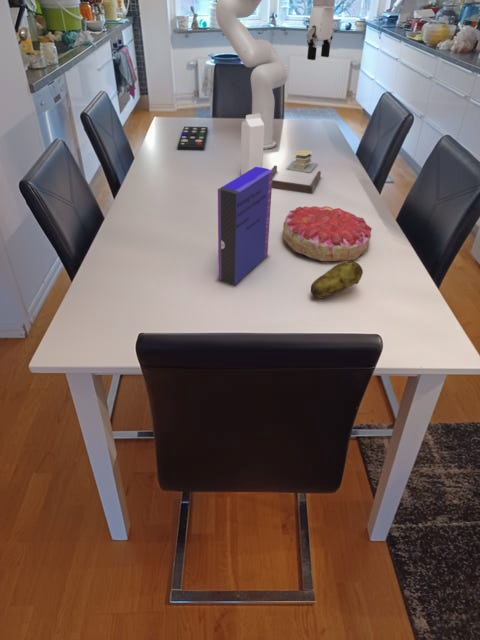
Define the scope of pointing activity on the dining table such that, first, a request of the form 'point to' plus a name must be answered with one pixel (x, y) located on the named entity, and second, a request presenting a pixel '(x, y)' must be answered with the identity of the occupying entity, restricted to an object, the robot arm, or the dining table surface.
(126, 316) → the dining table surface
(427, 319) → the dining table surface
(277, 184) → the sponge rest
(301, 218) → the cake
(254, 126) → the milk
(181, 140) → the remote control
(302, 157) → the stacked layers on plate
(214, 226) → the dining table surface
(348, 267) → the green pickle
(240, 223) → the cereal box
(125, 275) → the dining table surface
